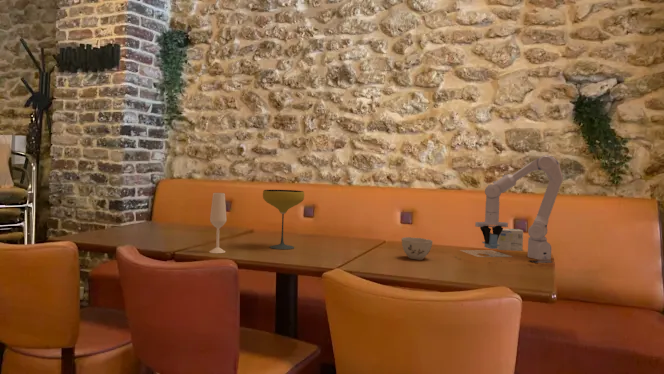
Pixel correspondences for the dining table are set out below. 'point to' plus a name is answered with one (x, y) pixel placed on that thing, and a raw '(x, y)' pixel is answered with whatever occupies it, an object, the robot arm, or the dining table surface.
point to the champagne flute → (218, 217)
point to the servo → (492, 242)
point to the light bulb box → (511, 240)
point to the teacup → (416, 247)
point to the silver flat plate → (488, 252)
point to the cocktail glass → (283, 206)
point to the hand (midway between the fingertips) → (490, 243)
